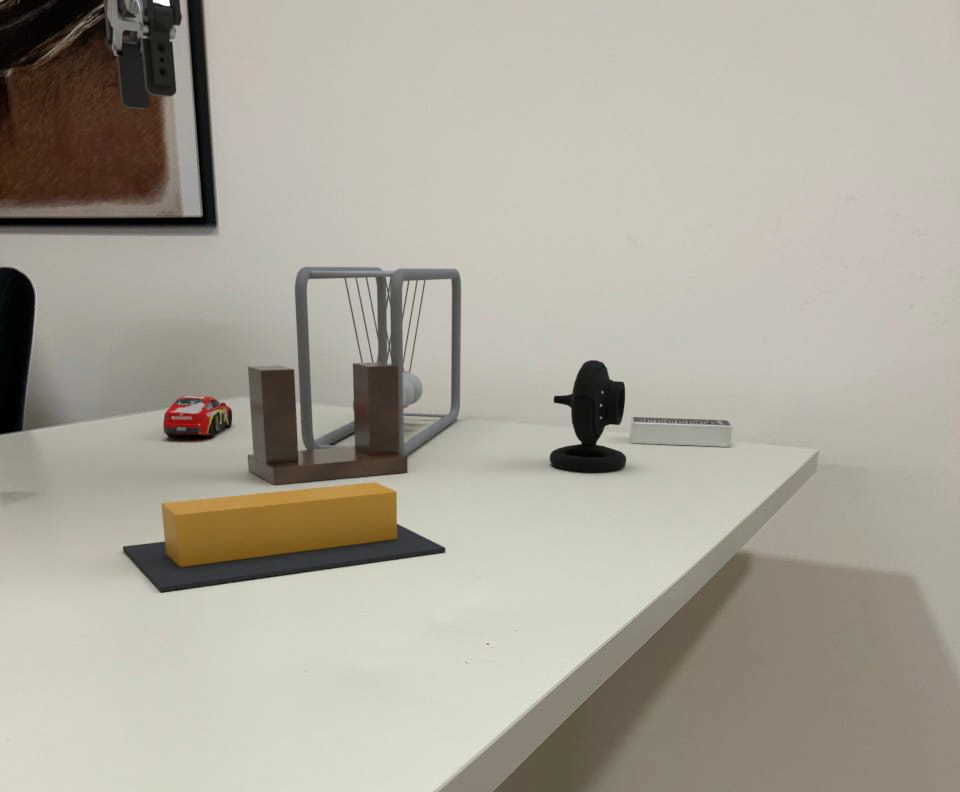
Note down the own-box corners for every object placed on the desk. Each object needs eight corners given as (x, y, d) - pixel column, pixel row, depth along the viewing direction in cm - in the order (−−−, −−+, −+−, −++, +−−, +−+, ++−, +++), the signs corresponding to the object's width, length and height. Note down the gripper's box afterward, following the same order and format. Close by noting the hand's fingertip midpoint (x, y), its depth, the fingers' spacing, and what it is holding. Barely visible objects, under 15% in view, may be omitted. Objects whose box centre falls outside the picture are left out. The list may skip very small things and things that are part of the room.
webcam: (617, 475, 92) (624, 365, 88) (540, 469, 94) (544, 361, 91) (632, 461, 99) (640, 358, 95) (560, 455, 101) (565, 355, 98)
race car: (193, 423, 117) (190, 388, 116) (238, 424, 117) (236, 389, 116) (155, 440, 105) (152, 402, 104) (206, 442, 105) (203, 403, 103)
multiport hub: (629, 436, 114) (631, 416, 113) (726, 440, 112) (728, 420, 112) (630, 443, 109) (631, 422, 109) (730, 447, 108) (733, 425, 107)
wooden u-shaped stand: (274, 485, 85) (267, 372, 82) (248, 470, 91) (241, 364, 88) (407, 472, 92) (407, 367, 88) (375, 459, 97) (374, 360, 94)
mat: (160, 592, 57) (160, 587, 57) (123, 550, 65) (122, 546, 65) (445, 551, 67) (445, 547, 66) (382, 519, 75) (382, 516, 74)
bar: (179, 567, 61) (174, 514, 60) (166, 554, 64) (160, 503, 62) (397, 539, 68) (397, 491, 67) (376, 528, 71) (375, 481, 70)
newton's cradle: (380, 415, 126) (378, 267, 120) (460, 418, 125) (462, 268, 118) (301, 455, 99) (291, 266, 92) (402, 461, 97) (400, 268, 91)
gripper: (57, -123, 78) (83, 108, 84) (92, -187, 66) (119, 85, 72) (154, -104, 81) (172, 116, 87) (202, -162, 70) (220, 95, 76)
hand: (148, 101), depth 80 cm, fingers open, 8 cm apart
